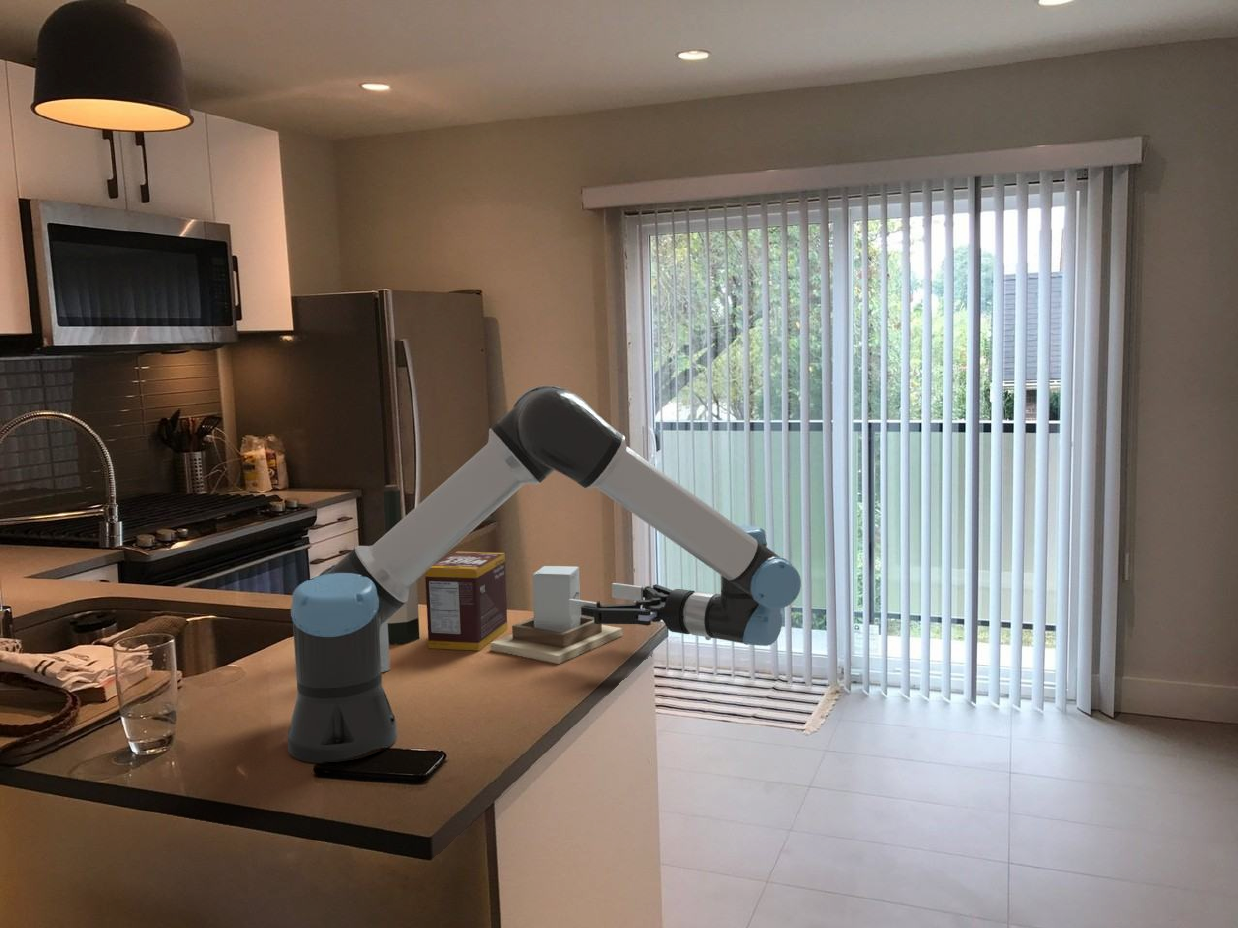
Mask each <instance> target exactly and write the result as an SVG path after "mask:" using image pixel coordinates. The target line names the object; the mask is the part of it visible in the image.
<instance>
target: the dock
mask: <svg viewBox="0 0 1238 928" xmlns="http://www.w3.org/2000/svg"><path fill="white" fill-rule="evenodd" d="M511 629H512V630H511V632H512V634H508V635H506V636H505V637H501V638H499V639H496V640H492V641H491V642H490V643H489V644H490V651H492V652H496V653H501V654H506V653H507V655H511V654H512V655H511V656H516V655H517V656H516V657H521V656H522V658H525V659H526V658H527V659H531V658H532V660H537V661H542V662H545V663H546V662H547V663H551V664H556V665H560V664H563V663H565V662H567V661H570V660H571V659H574V658H576V657H578V656H580V654H581V655H583V654H584V653H585V654H586V653H587V652H589V650H590V651H592V650H594V649H595V648H598V647H600V646H602V645H605V644H607V643H609V642H611V641H614V640H616V639H619V638H620V637H623V627H617V626H611V625H607V624H595V623H594V618H588V617H582V616H580V626H577V627H575V628H572V629H570V630H567V631H565V632H563V633H561V632H555V631H550V630H544V629H539V628H534V617H531V618H530V619H527V620H524V621H521V622H519V623H516V624H513V625H511ZM502 652H503V653H502Z"/></svg>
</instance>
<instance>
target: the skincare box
mask: <svg viewBox="0 0 1238 928" xmlns="http://www.w3.org/2000/svg"><path fill="white" fill-rule="evenodd" d="M389 646H390V644H389V642H388V623H387V620H386V621H385V622H384V623H383V624H382V625H381V626H380V656H381V673H384V672H387V671H390V670H391V666H390V665H391V662H390V647H389Z"/></svg>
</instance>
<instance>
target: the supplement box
mask: <svg viewBox="0 0 1238 928" xmlns="http://www.w3.org/2000/svg"><path fill="white" fill-rule="evenodd" d="M505 556H506V554H505V552H482V551H481V552H479V551H478V552H477V551H456V552H453V553H452V554H450V555H448V556H446V557H442V558H441V559H440V560H439V561H438V562H436V563H435V564H434V565H433V566H432V567H431V568H430V569H429V570H427V571H426V572H425V573H424V580H425V581H424V582H425V598H426V599H425V600H426V618H427V638H428V639H427V640H428V641H427V642H428V648H429V649H434V650H435V649H438V650H441V649H442V650H457V651H474V652H475V651H476V652H479V651H480V650H482V649H484V647H486V646H487V645H488V644H490V643H491V642H493V641H495V639H496V638H498V637H499V636H500V635H501V634H504V632H505V631H507V630H508V608H507V606H508V605H507V585H506V584H507V583H506V581H507V580H506V557H505Z"/></svg>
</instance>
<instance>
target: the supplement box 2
mask: <svg viewBox="0 0 1238 928" xmlns="http://www.w3.org/2000/svg"><path fill="white" fill-rule="evenodd" d="M580 584H581V583H580V566H571V565H570V566H569V565H567V566H566V565H565V566H564V565H563V566H562V565H554V566H553V565H543V566H541V568H539V569H538V570H536V571H535V572H534V573H533V574H532V600H533V602H532V603H533V605H532V606H533V618H534V628H539V629H544V630H550V631H555V632H561V633H563V632H565V631H567V630H570V629H572V628H575V627H577V626H580V616H576V615H569V599H576V600H581V589H580Z"/></svg>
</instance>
